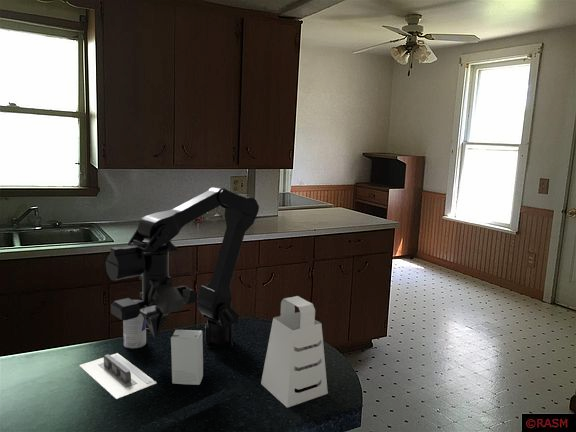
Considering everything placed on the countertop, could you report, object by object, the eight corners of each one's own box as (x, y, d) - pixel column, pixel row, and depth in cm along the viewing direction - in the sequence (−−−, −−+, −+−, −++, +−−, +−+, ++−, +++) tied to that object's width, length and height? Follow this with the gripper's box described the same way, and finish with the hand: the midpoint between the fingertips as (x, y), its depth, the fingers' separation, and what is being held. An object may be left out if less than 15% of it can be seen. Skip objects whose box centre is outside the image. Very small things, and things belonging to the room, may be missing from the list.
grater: (299, 371, 108) (303, 290, 105) (327, 393, 100) (333, 305, 96) (260, 383, 102) (263, 297, 99) (287, 407, 94) (291, 314, 90)
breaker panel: (117, 358, 111) (117, 352, 110) (157, 389, 99) (157, 382, 98) (79, 371, 104) (79, 364, 104) (116, 405, 92) (116, 398, 92)
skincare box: (203, 380, 103) (204, 329, 101) (199, 391, 98) (200, 338, 96) (175, 379, 103) (175, 328, 101) (170, 390, 98) (170, 336, 96)
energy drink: (148, 344, 119) (148, 299, 117) (142, 354, 114) (142, 307, 111) (127, 343, 119) (126, 299, 117) (120, 353, 113) (119, 307, 111)
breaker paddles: (109, 363, 105) (108, 353, 105) (130, 381, 98) (130, 370, 98) (103, 365, 104) (103, 355, 104) (125, 383, 97) (125, 372, 97)
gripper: (134, 289, 92) (135, 362, 95) (210, 273, 105) (209, 337, 108) (109, 276, 100) (110, 344, 102) (183, 262, 113) (182, 322, 116)
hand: (155, 337), depth 107 cm, fingers closed
